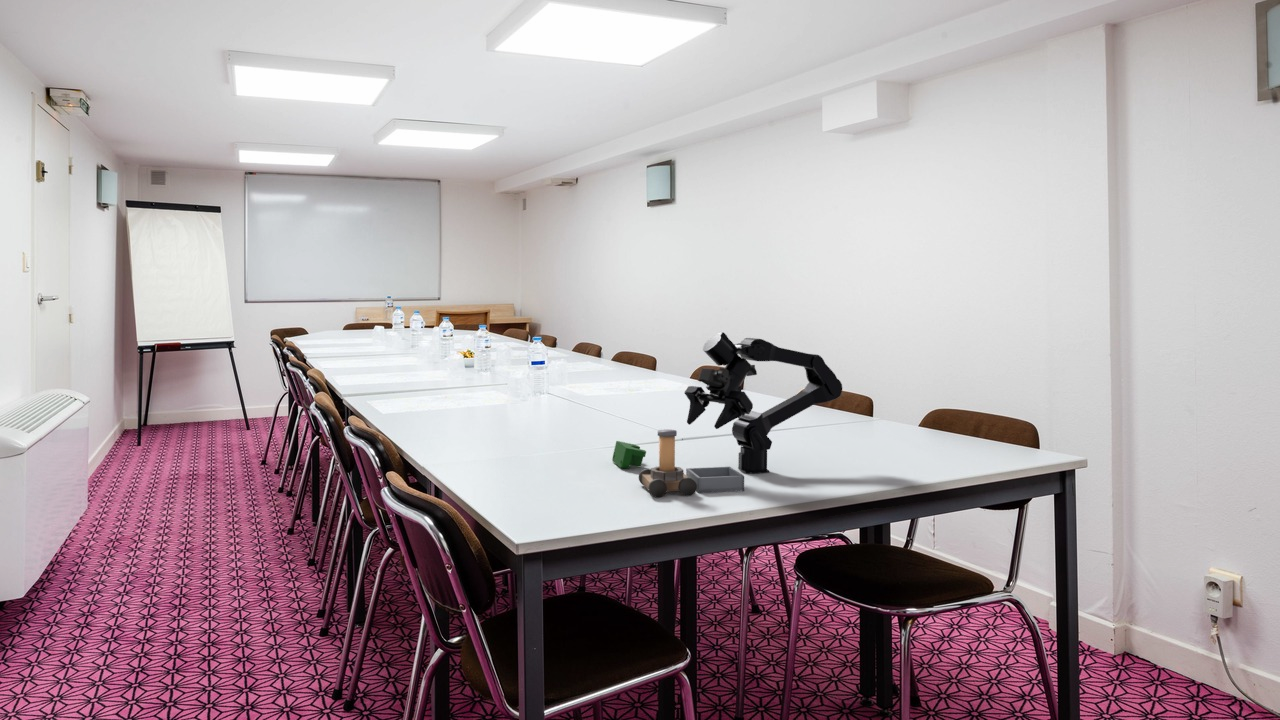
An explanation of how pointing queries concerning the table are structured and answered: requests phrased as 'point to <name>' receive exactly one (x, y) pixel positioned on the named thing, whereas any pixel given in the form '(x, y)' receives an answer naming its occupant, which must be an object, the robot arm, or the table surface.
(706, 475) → the tray
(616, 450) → the green block
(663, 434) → the pin
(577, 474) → the table surface
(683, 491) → the trolley
